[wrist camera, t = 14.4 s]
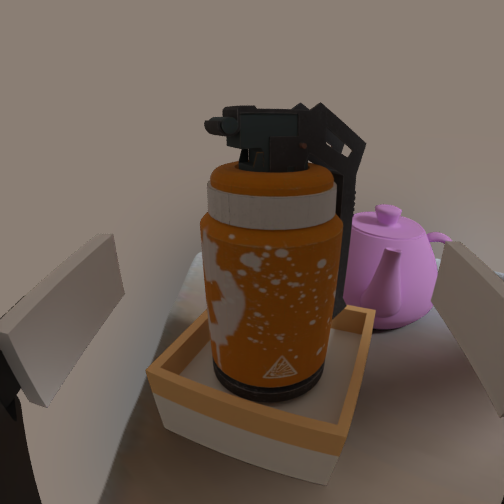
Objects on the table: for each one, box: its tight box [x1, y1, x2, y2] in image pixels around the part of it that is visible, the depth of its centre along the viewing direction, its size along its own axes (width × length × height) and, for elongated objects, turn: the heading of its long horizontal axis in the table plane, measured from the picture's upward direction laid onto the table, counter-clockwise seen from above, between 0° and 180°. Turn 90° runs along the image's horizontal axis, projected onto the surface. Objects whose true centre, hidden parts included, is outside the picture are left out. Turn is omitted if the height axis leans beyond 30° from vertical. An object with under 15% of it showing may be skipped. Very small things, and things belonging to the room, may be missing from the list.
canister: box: [200, 103, 366, 403], centre depth 22 cm, size 9×11×20 cm
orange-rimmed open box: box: [146, 305, 376, 486], centre depth 27 cm, size 15×15×8 cm
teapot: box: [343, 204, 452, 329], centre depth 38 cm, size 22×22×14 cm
